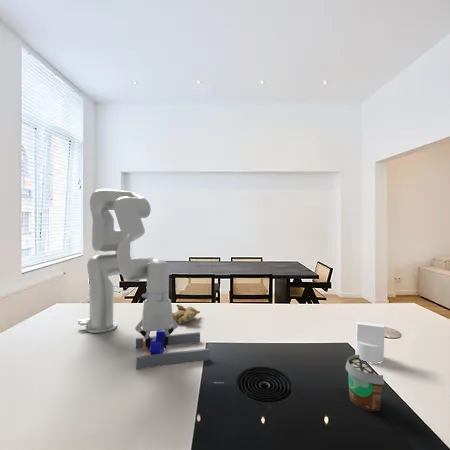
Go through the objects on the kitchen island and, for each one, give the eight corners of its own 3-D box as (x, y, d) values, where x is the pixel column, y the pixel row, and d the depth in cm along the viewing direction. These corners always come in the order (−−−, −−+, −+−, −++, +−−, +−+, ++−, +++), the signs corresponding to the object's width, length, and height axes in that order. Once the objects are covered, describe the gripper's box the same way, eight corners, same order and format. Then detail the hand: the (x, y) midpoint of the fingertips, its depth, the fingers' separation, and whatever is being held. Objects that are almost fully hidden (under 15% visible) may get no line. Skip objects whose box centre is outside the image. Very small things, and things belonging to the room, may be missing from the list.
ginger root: (208, 316, 144) (205, 300, 142) (187, 334, 131) (184, 317, 130) (183, 311, 153) (180, 296, 151) (161, 327, 140) (158, 312, 138)
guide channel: (136, 369, 95) (136, 358, 95) (135, 347, 111) (135, 338, 111) (209, 359, 102) (209, 349, 102) (199, 340, 118) (199, 332, 118)
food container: (336, 388, 87) (337, 354, 86) (357, 387, 87) (358, 353, 87) (359, 416, 74) (360, 376, 74) (383, 415, 75) (384, 376, 75)
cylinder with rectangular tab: (381, 354, 109) (382, 321, 109) (385, 366, 101) (386, 330, 100) (354, 350, 112) (355, 318, 112) (356, 361, 104) (357, 326, 103)
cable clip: (152, 346, 111) (152, 330, 111) (164, 346, 112) (165, 330, 111) (145, 362, 99) (146, 344, 99) (159, 362, 100) (160, 344, 99)
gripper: (132, 300, 99) (131, 355, 99) (183, 297, 104) (182, 349, 104) (132, 294, 106) (131, 345, 107) (180, 292, 111) (179, 340, 112)
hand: (156, 347), depth 105 cm, fingers open, 5 cm apart
